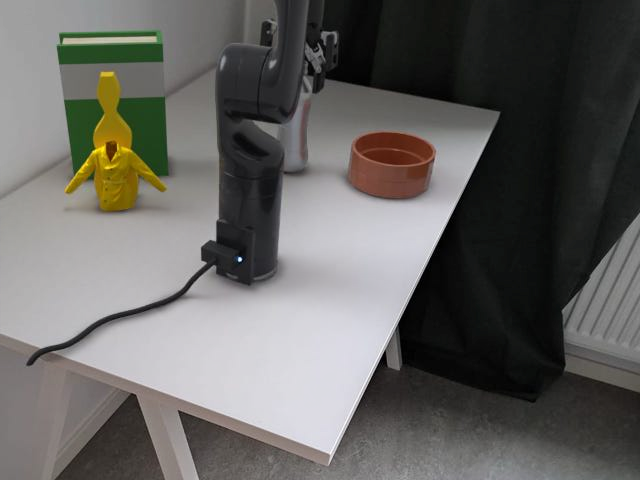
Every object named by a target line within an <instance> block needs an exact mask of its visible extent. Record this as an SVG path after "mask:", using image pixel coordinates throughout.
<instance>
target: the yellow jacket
mask: <svg viewBox="0 0 640 480" xmlns="http://www.w3.org/2000/svg"><path fill="white" fill-rule="evenodd" d="M120 92H121V89H120V85H119V82H118V80H117V77H116V75H115V73H114V72H101V75H100V79H99V83H98V87H97V97H98V100H99V102H100V104H101V106H102V108H103V110H104V113H105V114H104V116H103V117H102V119H101V120H100V122H99V123H98V125H97V127H96V128H95V132H94V136H93V141H94V145H95V150H94V151H92V153H91V155H90V156H89V158H88V159H87V161H86V162H85V164H84V165H83V166H82V167H81V168H80V170H79V171H78V172H77V174H76V175H75V176H74V175H73V178H72V179H71V181H70V182H69V183H68V185H67V186H66V188H65V189H64V193H65V194H67V195H72V194H73V193H74V192H75V191H76V190H77V189H79V187H80V186H82V185H83V184H84V183H85V181H86V180H87V178H88V177H89V176H90V175H91V174H92V172H93V171H94V170H95V169H96V171H95V177H94V178H93V182H94V183H93V184H94V189H95V194H96V196H97V198H98V200H99V208H100V209H101V210H102V211H104V212H118V211H119V212H121V211H122V210H127V209H131V208H133V207H135V206H136V203H135V201H136V200H137V197H138V194H139V187H140V186H139V185H140V184H139V183H140V180H139V177H138V174H139V175H140V177H141V178H142V179H143V180H145V181H146V182H147V183H148V184H150V185H151V186H152V187H153V188H154V189H156V190H158V191H159V192H161V193H164V192H166V191H167V190H168V187H166V185H165V184H164V182H162V181H161V179H160V178H159V176H156V175H155V174H154V173H153V172H152V171H151V170H150V168H149V167H148V166H147V165H146V164H145V163H144V162H143V161H142V160H141V159H140V158H139V157H138V156H137V155H136V154H135V153H134V152H133V151H132V150H131V143H132V132H131V129H130V127H129V126H128V125H127V124H126V122H125V121H124V120H123V119H122V118H121V116H120V115H119V114H118V112H117V106H118V103H119V98H120Z"/></svg>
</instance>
